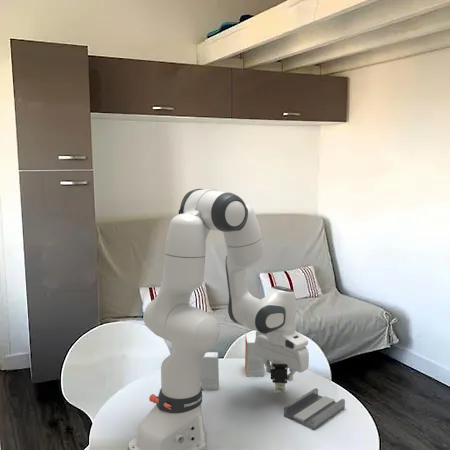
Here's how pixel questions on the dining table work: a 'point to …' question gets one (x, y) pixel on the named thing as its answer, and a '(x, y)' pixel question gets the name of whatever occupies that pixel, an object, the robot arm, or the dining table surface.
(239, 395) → the dining table surface
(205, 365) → the skincare box
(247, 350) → the small box
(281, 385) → the pneumatic valve
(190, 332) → the robot arm
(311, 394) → the rail plate
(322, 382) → the dining table surface
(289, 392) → the dining table surface
